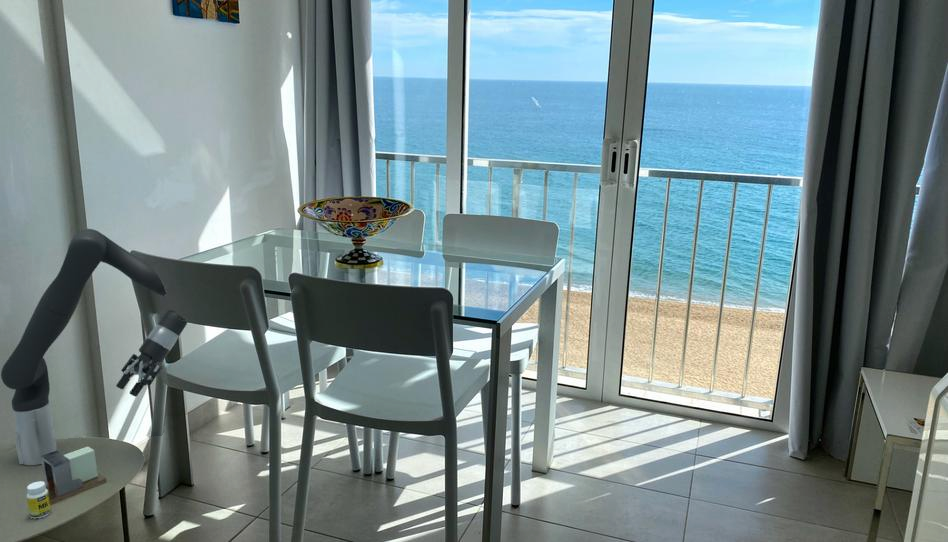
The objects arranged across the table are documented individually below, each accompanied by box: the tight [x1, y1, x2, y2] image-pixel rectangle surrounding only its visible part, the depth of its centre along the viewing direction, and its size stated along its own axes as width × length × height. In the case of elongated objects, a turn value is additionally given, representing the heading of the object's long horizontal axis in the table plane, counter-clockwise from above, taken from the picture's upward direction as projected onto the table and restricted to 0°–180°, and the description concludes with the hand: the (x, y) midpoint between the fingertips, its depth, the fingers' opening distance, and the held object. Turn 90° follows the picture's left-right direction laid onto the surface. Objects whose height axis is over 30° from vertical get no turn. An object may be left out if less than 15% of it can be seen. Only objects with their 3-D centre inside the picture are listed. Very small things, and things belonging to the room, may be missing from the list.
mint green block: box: [63, 446, 99, 482], centre depth 196 cm, size 8×4×8 cm, turn 141°
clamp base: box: [41, 449, 107, 506], centre depth 195 cm, size 15×9×10 cm, turn 141°
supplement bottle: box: [26, 481, 52, 520], centre depth 182 cm, size 5×5×8 cm
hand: (125, 391), depth 204 cm, fingers open, 8 cm apart
